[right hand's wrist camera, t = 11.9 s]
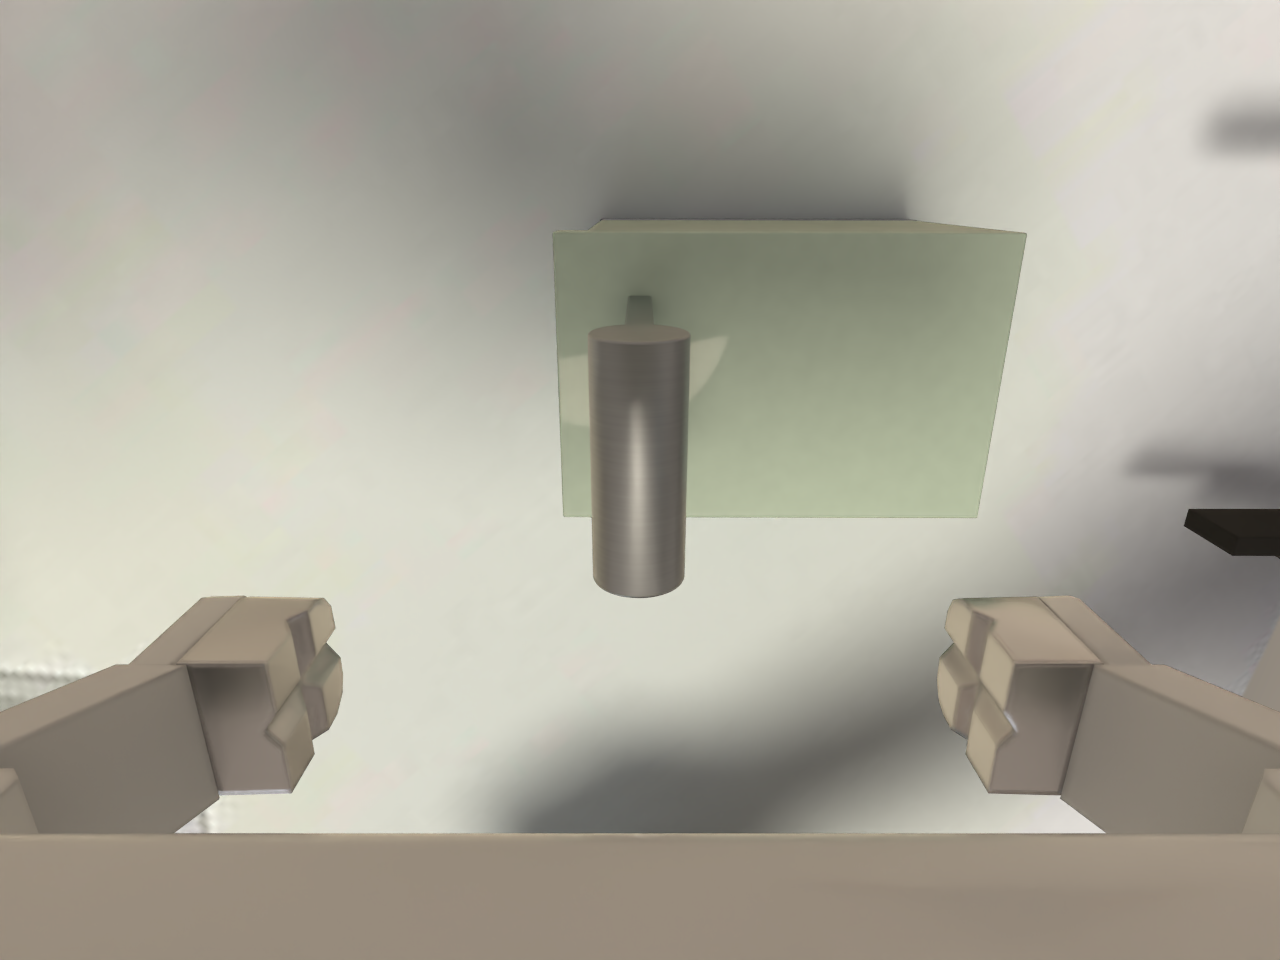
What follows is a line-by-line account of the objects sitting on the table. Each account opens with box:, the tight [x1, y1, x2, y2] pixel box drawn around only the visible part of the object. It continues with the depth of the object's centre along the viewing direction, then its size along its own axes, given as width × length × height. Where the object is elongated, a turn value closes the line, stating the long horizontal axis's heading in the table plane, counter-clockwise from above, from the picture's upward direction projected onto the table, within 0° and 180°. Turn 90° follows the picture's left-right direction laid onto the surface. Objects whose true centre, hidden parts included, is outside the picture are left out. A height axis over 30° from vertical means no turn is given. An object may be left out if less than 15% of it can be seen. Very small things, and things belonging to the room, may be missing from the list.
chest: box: [589, 219, 1003, 231], centre depth 29 cm, size 13×9×9 cm
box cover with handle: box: [553, 230, 1027, 598], centre depth 20 cm, size 14×9×9 cm, turn 90°
